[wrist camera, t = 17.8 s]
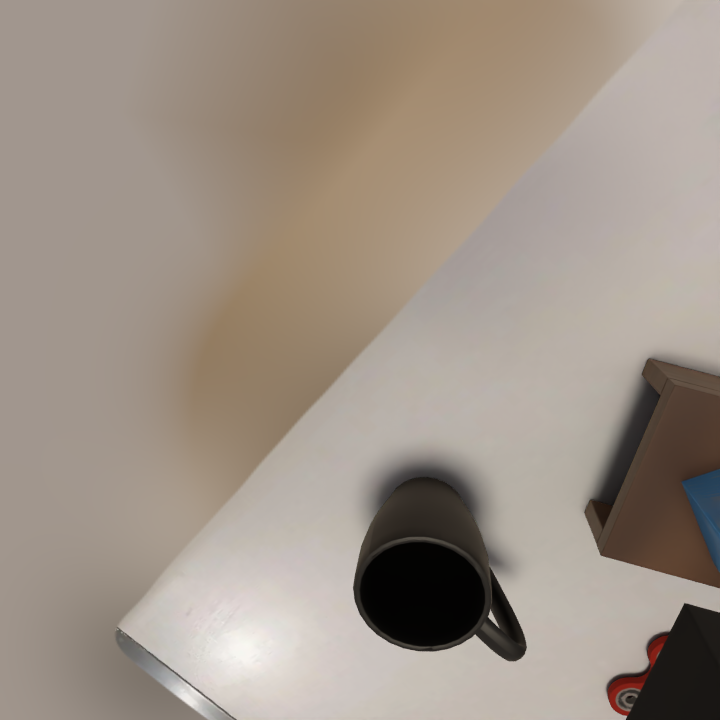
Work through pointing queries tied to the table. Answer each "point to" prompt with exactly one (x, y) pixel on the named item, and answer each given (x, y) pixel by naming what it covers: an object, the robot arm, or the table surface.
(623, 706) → the fidget spinner
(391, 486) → the table surface
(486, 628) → the mug
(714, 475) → the perfume bottle
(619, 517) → the shelf
